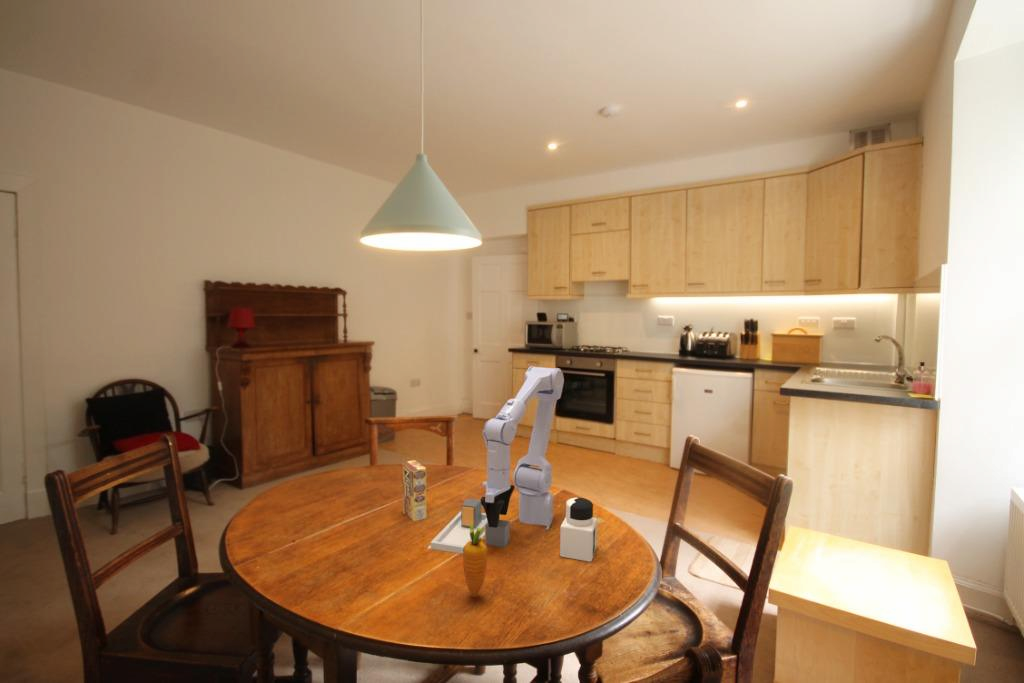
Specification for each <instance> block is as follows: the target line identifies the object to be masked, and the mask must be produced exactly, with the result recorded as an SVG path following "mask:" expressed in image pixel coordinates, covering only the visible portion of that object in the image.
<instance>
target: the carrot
mask: <svg viewBox="0 0 1024 683" xmlns="http://www.w3.org/2000/svg"><path fill="white" fill-rule="evenodd" d="M483 530H484V528H483V527H482V528H477V530H476V533H475V535H474V527H473V524H472V525H470V537H471V540H472V541H469V542H468V543H467V544H466V545H465V546H464V548H463V554H462V559H463V560H462V562H463V563H462V564H463V574H464V579H465V582H466V586H467V589H468V591H469V593H470V594H471V596H472V597H473V598H476V597H478V595H479V593H480V591H481V589H482V587H483V585H484V582H485V578H486V573H487V564H488V547H487V546H488V545H486V544H485V542H483V541H482V540H483V538H481V537H480V538H479V535H480V533H481V532H482V531H483ZM478 538H479V539H478Z"/></svg>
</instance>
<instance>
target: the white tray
mask: <svg viewBox="0 0 1024 683" xmlns="http://www.w3.org/2000/svg"><path fill="white" fill-rule="evenodd" d="M487 522H488V521H487V517H486V513H484V512H482V519H481V522H480V524H479V525H478V526H477V527H476V528H475V529H474V535H475V533H476V530H477V528H482V527H483V528H484V530H483V531H482V532H481V533H480V535H479V538H480V537H481V538H482V539H484V538H483V537H485V525H486V524H487ZM479 538H478V539H479ZM469 541H472V540H471V537H470V528H466V527H461V510H460V511H459V512H458V513H457V514H456V515H455V516H454V518H452V519H451V520H450V522H448V524H447V525H446V526H444V528H443V529H442V530H441V531H440V532H439V533H438V534H437V535H436V536H435V537H434V538H433V539H432V540H431V542H430V545H429V546H428V547H427V549H430V550H437V551H443V552H449V553H454V554H455V553H456V554H460V555H461V554H462V555H463V548H464V546H465V545H466V544H467V543H468V542H469Z"/></svg>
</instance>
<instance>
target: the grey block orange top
mask: <svg viewBox="0 0 1024 683" xmlns="http://www.w3.org/2000/svg"><path fill="white" fill-rule="evenodd" d="M510 523H511V522H510V520H506V519H499V523H498V526H497V528H494V527H489V525H488V522H487V524H486V525H485V535H484V544H485V545H486V546H494V547H499V548H506V547H507V545H508V543H509V541H510V528H511V527H510Z"/></svg>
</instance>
